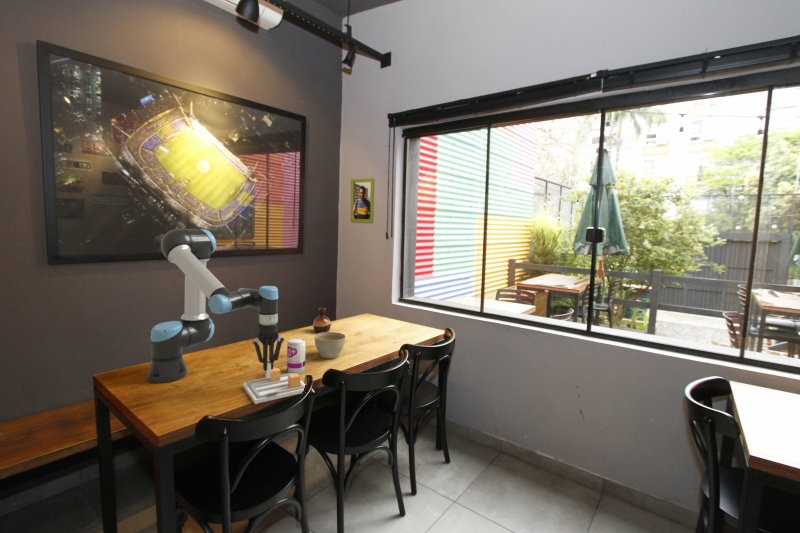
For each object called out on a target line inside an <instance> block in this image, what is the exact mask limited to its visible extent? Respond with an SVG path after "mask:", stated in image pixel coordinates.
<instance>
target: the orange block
mask: <svg viewBox="0 0 800 533" xmlns="http://www.w3.org/2000/svg"><path fill="white" fill-rule="evenodd" d="M280 374H281V369H280V368H279V367H273V369H272V370H271V378H269V381H270V382H274V381H279V380H280Z"/></svg>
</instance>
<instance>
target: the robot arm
mask: <svg viewBox="0 0 800 533" xmlns="http://www.w3.org/2000/svg"><path fill="white" fill-rule="evenodd" d="M160 241H161V242H160V249H161V252H162V254H163V256H164V257H165V258H166V260H168V262H170V263H172V264H174V265H176V266H177V267H178V268H179V269H180V270H181V271H182V273H184V313H183V314H182V315H181V316H180V321H178V320H170V321H165V322H160V323H158V324H156V325H154V326H153V327H152V329H151V330H150V348H151V349H150V352H151V355H150V356H151V361H150V365H149V367H148V370H147V374H146V380H147V382H150V383H154V384H156V383H157V384H161V383H171V382H175V381H178V380H181V379H183V378H184V377H186V376H187V374H188V367H187V365H186V362H185V359H184V357H183V350H184V349H186V348H187V349H188V348H190V347H195V346H197V345H202V344H203V343H205V342H209V341H210V339H212V337H213V336H214V333H215V323H213V322H214V321H213V320H212V319H211V318H210V315H209V314H208V313H207V312H206V298H207V299H208V303H207V304H208V307H209V310H210V311H211V313H213V314H216V315H219V314H220V315H221V314H227V313H230V312H233V311H237V310H242V309H246V308H256V309H257V308H258V323H259V324H258V335H257V338H256V339H254V340H252V341H251V343H252V344H253V345H254V348H255V351H256V356H257V359H258V362H259V363H260V364H263V365H262V369H263V371H265V378H267V379H268V378H271V370H272V369H273V368H274V364H275V361H278V360H279V357H280V352H281V348H282V343H284V341H285V338H284V337H283V336H280V335H279V331H278V330H279V327H278V326H279V324H278V322H279V314H278V313H279V309H278V308H279V289H278V287H277V286H275V285H263V286H260V287H259V288H258V289H255V288H249V287H246V288H245V287H241V288H238V289H237V290H236V291H229V289H228V288H227V287H226V286H225V285H224V284H223V283H222V282H221V281H219V279H218V278H217V277H216V276H215V275H214V274H213V273H212V272H211V271H210V270H209V269H208V268H207V262H209V261H210V259H211V254H213V253H214V252H215V251H216V249H217V242H216V238H215V235H213V234H212V232H211V231H209V230H208V229H205V228H204V229H203V228H202V229H201V228H173V229H171V230H169V231H168V232H166V233H165V234H164V235H163V236H162V238H161V240H160ZM260 343H261V344H262V351H261V347H260V345H259V344H260ZM275 343H276V345H275ZM268 360H269V361H268Z"/></svg>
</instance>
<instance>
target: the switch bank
mask: <svg viewBox="0 0 800 533" xmlns="http://www.w3.org/2000/svg"><path fill="white" fill-rule="evenodd" d="M291 374H292V373H288V372H287V373H283V372H280V380H279V381H274V382H270V381H269V378H268V379H267V378H266V377H263V378H258V379H253V380H248V381H246V382H244V383H242V388H243V389H244V390H245V392H246V394H248V396H249V398H250V399H251V401H252V402H253V404H255V405H256V404H260V403H265V402H270V401H274V400H278V399H282V398H287V397H292V396H295V395H300V394H303V393H302V392H303V391H304V388H305V385H306V383H304V382H303V380H301V379H300V387H295V388H289V387H288V375H291ZM293 374H294V373H293Z"/></svg>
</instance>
